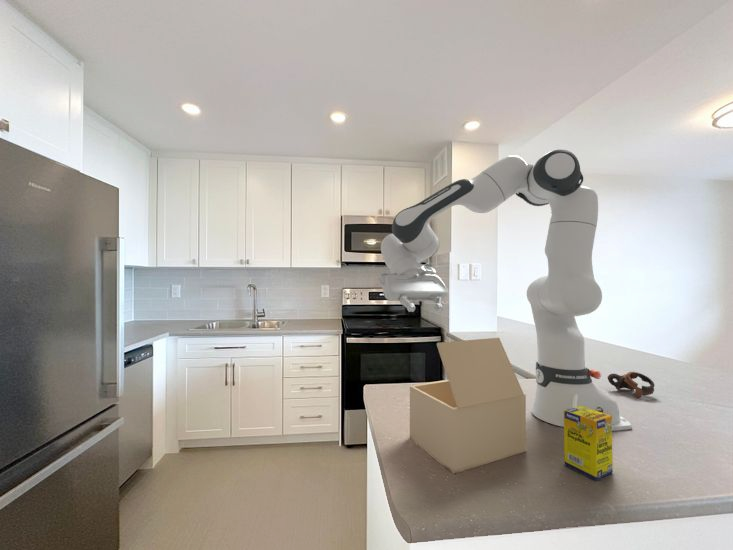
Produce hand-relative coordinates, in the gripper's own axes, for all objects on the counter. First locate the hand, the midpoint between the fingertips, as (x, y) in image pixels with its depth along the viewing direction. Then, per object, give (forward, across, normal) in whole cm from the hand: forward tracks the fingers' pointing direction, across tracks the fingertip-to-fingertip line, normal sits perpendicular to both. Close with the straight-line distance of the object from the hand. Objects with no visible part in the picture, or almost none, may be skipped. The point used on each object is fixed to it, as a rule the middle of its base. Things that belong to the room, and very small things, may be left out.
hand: (426, 310), depth 83 cm
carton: (+31, 0, +10) cm, 32 cm away
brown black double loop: (+29, +76, +11) cm, 82 cm away
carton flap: (+21, 0, -6) cm, 22 cm away
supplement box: (+43, +15, -3) cm, 46 cm away
